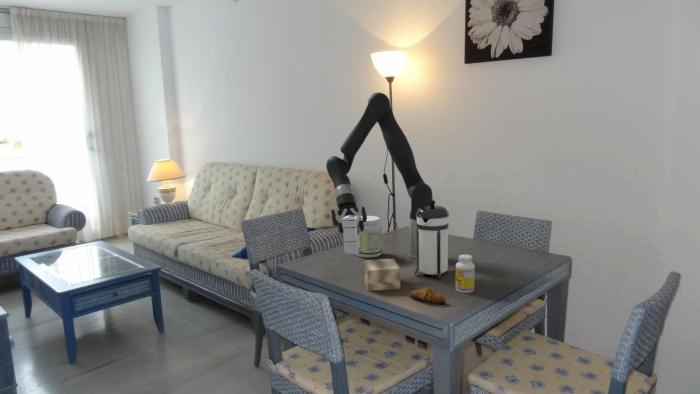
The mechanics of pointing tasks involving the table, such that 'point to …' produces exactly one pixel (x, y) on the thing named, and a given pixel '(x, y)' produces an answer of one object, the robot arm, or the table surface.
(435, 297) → the croissant
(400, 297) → the table surface
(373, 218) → the supplement tub
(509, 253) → the table surface
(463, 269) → the supplement bottle
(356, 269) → the table surface
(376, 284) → the riser block
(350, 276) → the table surface
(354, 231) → the syrup box
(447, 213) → the coffee press
